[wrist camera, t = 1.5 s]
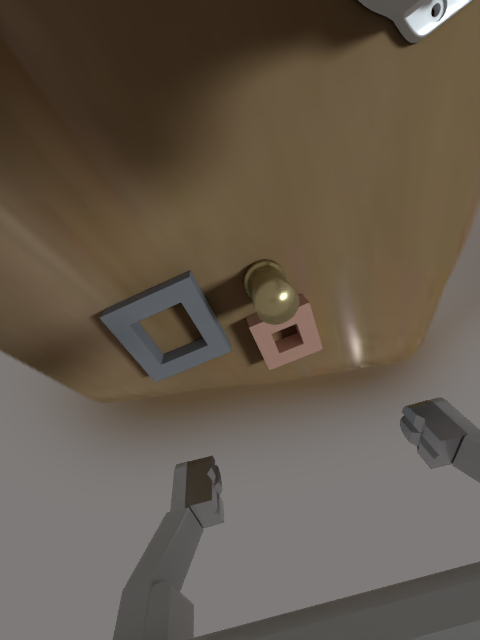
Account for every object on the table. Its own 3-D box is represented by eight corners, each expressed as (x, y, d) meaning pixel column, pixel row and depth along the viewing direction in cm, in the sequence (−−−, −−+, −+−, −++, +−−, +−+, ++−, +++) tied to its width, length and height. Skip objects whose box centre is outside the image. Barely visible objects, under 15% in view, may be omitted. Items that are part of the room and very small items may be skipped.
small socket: (301, 293, 36) (309, 302, 34) (315, 338, 41) (322, 349, 38) (246, 317, 37) (248, 327, 35) (265, 358, 42) (269, 370, 39)
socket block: (190, 270, 33) (189, 277, 31) (229, 341, 39) (231, 351, 37) (105, 308, 34) (99, 317, 32) (158, 371, 41) (155, 382, 38)
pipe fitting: (276, 252, 33) (295, 273, 26) (288, 288, 36) (308, 315, 29) (236, 270, 33) (244, 294, 27) (251, 304, 36) (262, 334, 30)
